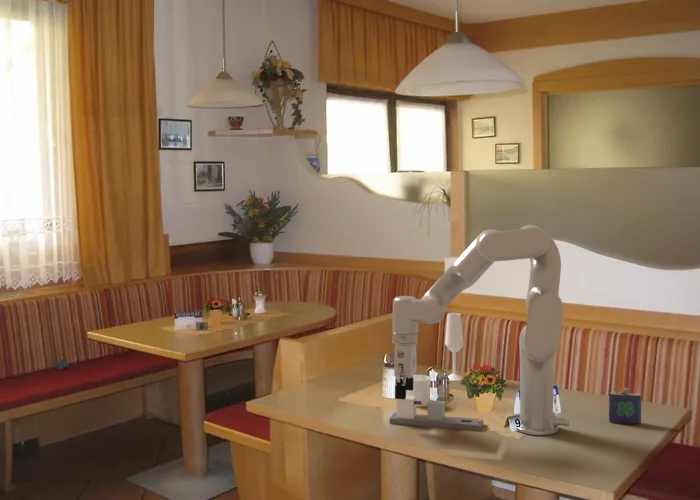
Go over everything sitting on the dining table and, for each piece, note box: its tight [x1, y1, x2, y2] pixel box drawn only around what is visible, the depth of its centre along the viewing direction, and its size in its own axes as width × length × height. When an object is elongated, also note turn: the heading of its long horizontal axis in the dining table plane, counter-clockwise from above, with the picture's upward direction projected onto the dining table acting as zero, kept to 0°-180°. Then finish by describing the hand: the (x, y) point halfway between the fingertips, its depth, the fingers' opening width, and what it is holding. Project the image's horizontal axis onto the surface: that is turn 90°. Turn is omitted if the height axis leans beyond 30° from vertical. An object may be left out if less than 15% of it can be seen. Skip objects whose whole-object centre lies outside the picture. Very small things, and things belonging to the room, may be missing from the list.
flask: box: [608, 387, 642, 426], centre depth 236 cm, size 9×3×11 cm, turn 78°
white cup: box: [406, 374, 432, 408], centre depth 254 cm, size 8×8×10 cm
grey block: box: [427, 399, 446, 421], centre depth 234 cm, size 4×4×6 cm
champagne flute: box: [444, 312, 464, 382], centre depth 289 cm, size 7×7×24 cm
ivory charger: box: [396, 394, 421, 419], centre depth 236 cm, size 7×4×8 cm, turn 73°
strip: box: [389, 412, 484, 432], centre depth 234 cm, size 27×6×4 cm, turn 73°
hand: (404, 394), depth 236 cm, fingers open, 9 cm apart
